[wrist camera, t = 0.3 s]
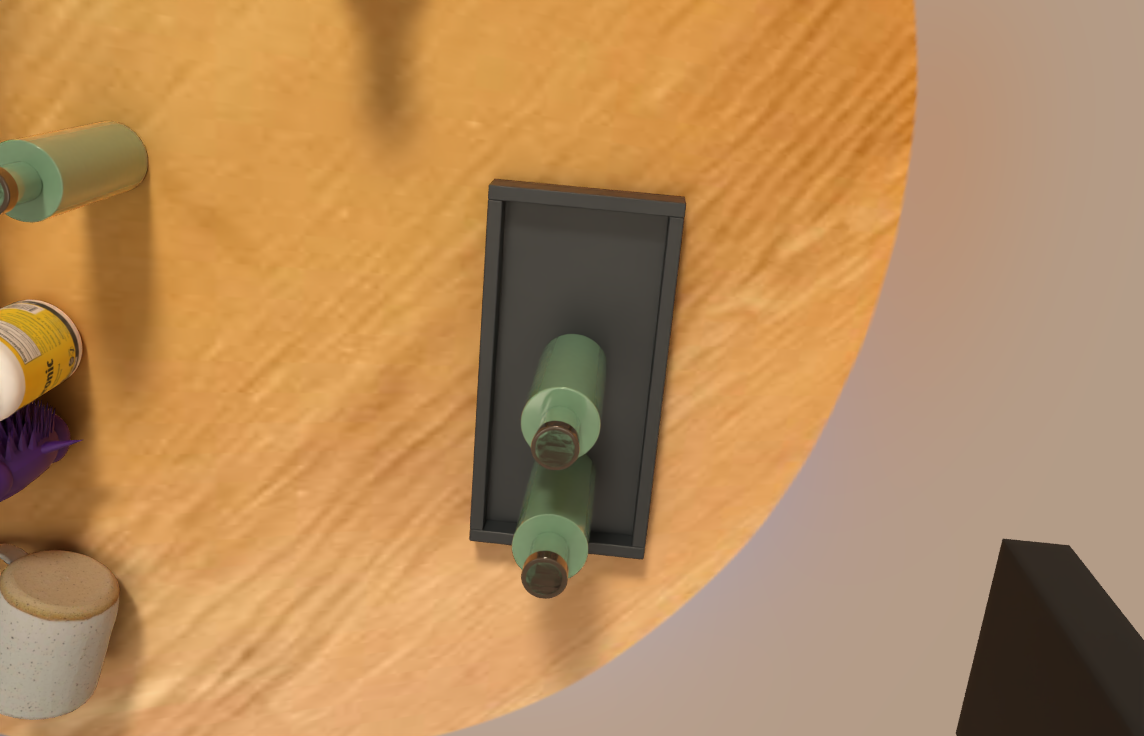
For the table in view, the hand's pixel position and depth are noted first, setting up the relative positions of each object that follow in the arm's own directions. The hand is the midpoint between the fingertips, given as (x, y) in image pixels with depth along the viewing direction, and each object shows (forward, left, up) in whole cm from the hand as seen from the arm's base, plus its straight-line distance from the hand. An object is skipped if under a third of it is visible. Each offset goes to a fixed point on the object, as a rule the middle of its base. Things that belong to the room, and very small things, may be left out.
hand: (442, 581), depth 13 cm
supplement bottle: (+15, -33, -46) cm, 59 cm away
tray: (+14, -1, -46) cm, 48 cm away
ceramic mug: (+33, -33, -46) cm, 66 cm away
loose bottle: (+4, -28, -46) cm, 54 cm away
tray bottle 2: (+20, -1, -46) cm, 50 cm away
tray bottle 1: (+13, -1, -46) cm, 47 cm away
